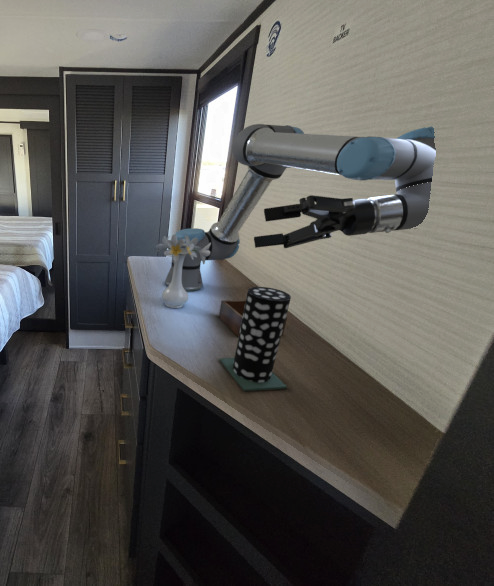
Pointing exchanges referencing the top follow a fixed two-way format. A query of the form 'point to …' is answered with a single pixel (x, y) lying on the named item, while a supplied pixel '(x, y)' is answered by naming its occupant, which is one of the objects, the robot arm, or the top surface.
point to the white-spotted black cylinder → (260, 333)
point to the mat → (249, 385)
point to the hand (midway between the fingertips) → (259, 229)
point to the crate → (234, 314)
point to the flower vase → (179, 267)
